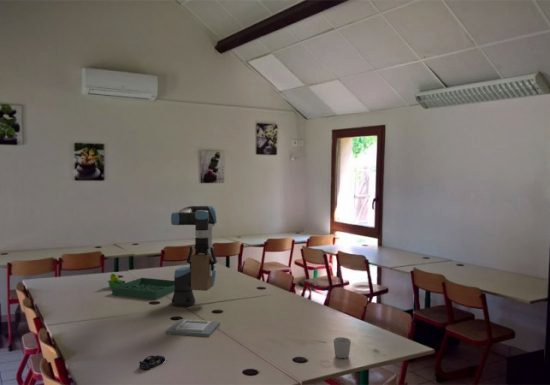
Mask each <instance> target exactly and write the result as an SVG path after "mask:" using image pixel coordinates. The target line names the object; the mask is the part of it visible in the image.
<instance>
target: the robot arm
mask: <svg viewBox="0 0 550 385" xmlns="http://www.w3.org/2000/svg"><path fill="white" fill-rule="evenodd" d="M170 215H171V216H170V223H171V225H173V226H195V227H194V228H195V231H194V234H195V235H194V236H195V238H194V241H195V242H194V244H195V245H190V246H189V253H188V255H187V256H188V257H187V260H186V263H187V264H188V265H189V266H183V267H179V268H176V269H175V270H174V276H173V279H174V280H173V281H174V292H173V296H172V298H171V305H172V306H174V307H190V306H193V305H195V304H196V298H195V294H194V290H191V256H192V255H197V254H198V253H203V254H204V253H205V255H209V254H211V255H212V258H211V257H210V258H209V262H210V265H209V276H212V287H211V288H213V287H214V285H215V283H216V282H215V281H216V277H217V276H216V275H217V269H216V268H215V265H217V263H218V262H217V261H218V260H217V257H216V253H215V247H214V246H213V228H214V227H215V224H217V223H218V221H217V214H216V207H215V206H213V205H191V206H186V207H183V208H181V209H180V210H179V211H177V212H172V213H171V214H170ZM194 249H195V253H194V254H193V252H194Z"/></svg>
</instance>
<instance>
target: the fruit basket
mask: <svg viewBox="0 0 550 385" xmlns="http://www.w3.org/2000/svg"><path fill="white" fill-rule="evenodd" d="M109 278H110V280H107V284H108V285H109V288H110V287H111V288H110V289H112V287H115V286H118V285H121V284H124V283H126V280H122V279H119V276H118V275H116V274H115V273H111V274H110V276H109Z"/></svg>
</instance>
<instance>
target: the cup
mask: <svg viewBox="0 0 550 385" xmlns="http://www.w3.org/2000/svg"><path fill="white" fill-rule="evenodd" d="M351 342H352V341H351V339H350V338H348V337H343V336H342V337H341V336H340V337H335V338H333V347H334V355H335V357H336V356H337V357H336V358H338V357H339V358H338V359H342V358H344V359H347V358H349V356H350V352H351ZM346 357H347V358H346Z"/></svg>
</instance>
